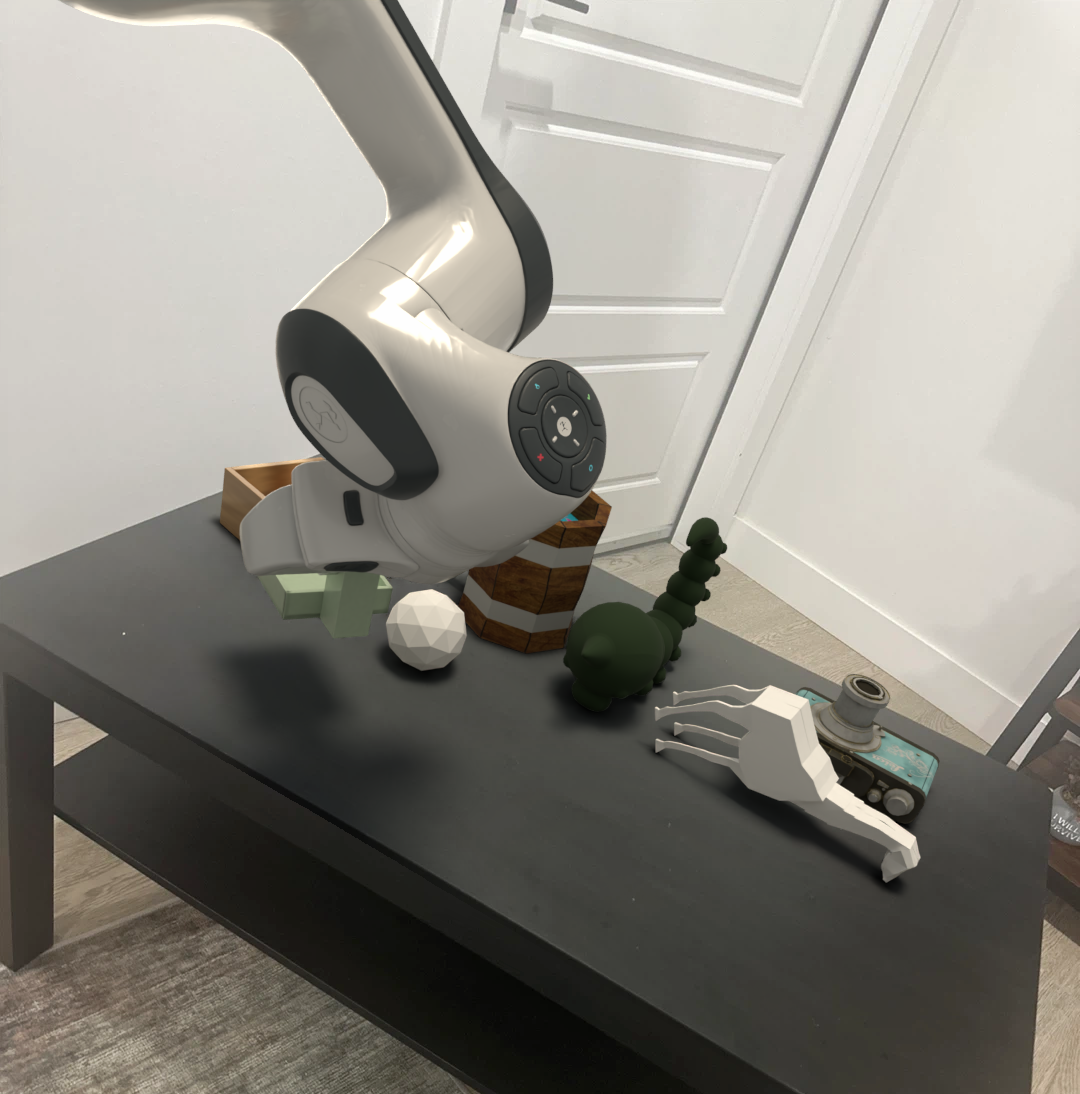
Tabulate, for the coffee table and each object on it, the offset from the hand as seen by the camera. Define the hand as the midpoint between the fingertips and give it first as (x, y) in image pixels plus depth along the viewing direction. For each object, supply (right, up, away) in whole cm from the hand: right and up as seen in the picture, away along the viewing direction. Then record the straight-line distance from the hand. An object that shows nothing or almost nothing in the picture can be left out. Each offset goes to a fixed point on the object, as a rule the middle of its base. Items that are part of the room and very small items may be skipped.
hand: (351, 563), depth 75 cm
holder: (-12, +8, +34) cm, 37 cm away
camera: (+46, -18, +27) cm, 56 cm away
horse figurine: (+37, -21, +19) cm, 46 cm away
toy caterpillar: (+23, -8, +29) cm, 38 cm away
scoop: (-4, -1, +6) cm, 7 cm away
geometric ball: (+2, -6, +22) cm, 23 cm away
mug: (+9, +1, +34) cm, 35 cm away
